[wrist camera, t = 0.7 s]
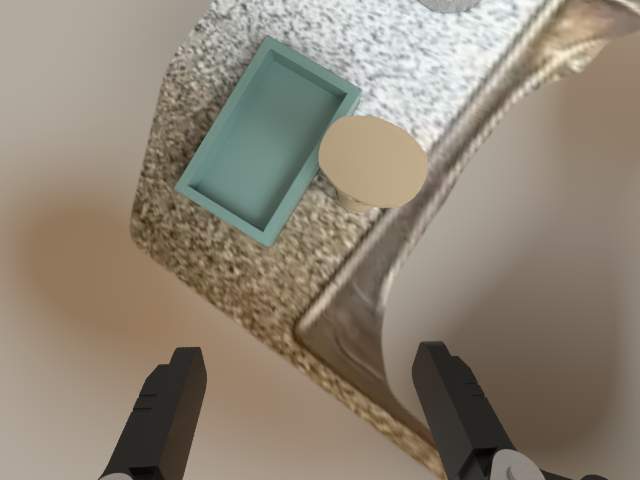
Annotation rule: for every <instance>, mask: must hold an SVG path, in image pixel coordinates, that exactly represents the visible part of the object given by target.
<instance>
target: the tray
mask: <svg viewBox="0 0 640 480" xmlns="http://www.w3.org/2000/svg"><path fill="white" fill-rule="evenodd" d="M361 91H362V90H361V89H360V88H358V87H356V86H355V85H353V84H351V83H349V82H348V81H346V80H344V79H342V78H341V77H339V76H337V75H336V74H334V73H332V72H330V71H329V70H327V69H325V68H323V67H322V66H320V65H318V64H317V63H315V62H313V61H311V60H310V59H308V58H306V57H305V56H303V55H301V54H299V53H298V52H296V51H294V50H292V49H291V48H289V47H287V46H286V45H284V44H282V43H280V42H279V41H277V40H275V39H274V38H272V37H270V36H268V35H267V36H266V37H265V39H264V41H263V42H262V44H261V46H260V47H259V49H258V51H257V52H256V54H255V56H254V57H253V59H252V61H251V62H250V64H249V66H248V67H247V69H246V70H245V72H244V74H243V75H242V77H241V79H240V80H239V82H238V84H237V85H236V87H235V89H234V90H233V92H232V94H231V95H230V97H229V99H228V100H227V102H226V104H225V105H224V107H223V108H222V110H221V112H220V113H219V115H218V117H217V118H216V120H215V122H214V123H213V125H212V127H211V128H210V130H209V132H208V133H207V135H206V137H205V138H204V140H203V142H202V143H201V145H200V146H199V148H198V150H197V151H196V153H195V155H194V156H193V158H192V160H191V161H190V163H189V165H188V166H187V168H186V170H185V171H184V173H183V175H182V176H181V178H180V180H179V181H178V183H177V184H176V186H175V188H174V189H175V190H176V191H178V192H179V193H181V194H183V195H184V196H186V197H187V198H189V199H191V200H192V201H194V202H196V203H197V204H199V205H200V206H202V207H204V208H205V209H207V210H208V211H210V212H212V213H213V214H215V215H217V216H218V217H220V218H221V219H223V220H225V221H226V222H228V223H229V224H231V225H233V226H234V227H236V228H237V229H239V230H241V231H242V232H244V233H246V234H247V235H249V236H250V237H252V238H254V239H255V240H257V241H258V242H260V243H262V244H263V245H265V246H273V244H274V243H275V241H276V239H277V238H278V236H279V234H280V233H281V231H282V230H283V228H284V226H285V225H286V223H287V221H288V220H289V218H290V216H291V215H292V213H293V212H294V210H295V208H296V207H297V205H298V203H299V202H300V200H301V198H302V197H303V195H304V194H305V192H306V190H307V189H308V187H309V185H310V184H311V182H312V180H313V179H314V177H315V175H316V174H317V172H318V171H319V169H320V167H319V149H320V144H321V142H322V139H323V137H324V135H325V134H326V132H327V130H328V129H329V128H330V126H331V125H332V124H333V123H334V122H336V121H337V120H338V119H340V118H341V117H343V116H352V115H353V113H354V112H355V110H356V108H357V107H358V105H359V102H360V97H361Z"/></svg>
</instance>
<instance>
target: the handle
mask: <svg viewBox="0 0 640 480" xmlns="http://www.w3.org/2000/svg"><path fill="white" fill-rule="evenodd" d="M319 167H320V170H321V171H322V173H323V174H324V175H325V177H326V178H327V179H328V181H329V182H330V183H331V184H332V185H333V186H334V188H335V189H336V190H337V195H338V199H339V201H340V203H341V205H342V206H343V207H344V208H345V209H346V211H347V212H349V213H364V212H366V211H369V210H370V209H372V208H373V207H383V208H392V207H400V206H402V205H404V204H406V203H407V202H409V201H410V200H411V199H413V198H414V197H415V195H416V194H417V193H418V192H419V190H420V189H421V187H422V185H423V183H424V181H425V178H426V175H427V170H428V158H427V154H426V153H425V152H424V150H423V149H422V148H421V147H420V145H419V144H418V143H417V142H416V141H415V140H414V138H413V137H412V136H411V135H410V134H409V133H408V132H406V131H405V130H403V129H402V128H400V127H398V126H396V125H394V124H392V123H389V122H387V121H385V120H383V119H380V118H377V117H372V116H343V117H341V118H340V119H338V120H337V121H336V122H334V123H333V124H332V125H331V126H330V128H329V129H328V130H327V132H326V134H325V135H324V137H323V139H322V142H321V144H320V149H319Z"/></svg>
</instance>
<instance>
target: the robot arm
mask: <svg viewBox="0 0 640 480" xmlns="http://www.w3.org/2000/svg"><path fill="white" fill-rule="evenodd" d="M419 1H420V2H421V3H422V4H424V5H425V6H427V7H428V8H430V9H432V10H435V11H437V12H442V13H458V12H462V11H465V10H468V9H470V8H472V7H474V6H475V5H477V4H478V3H479V2H481V1H482V0H419ZM412 378H413V383H414V386H415V389H416V391H417V394H418V397H419V400H420V403H421V405H422V408H423V411H424V414H425V416H426V419H427V422H428V425H429V428H430V430H431V433H432V436H433V439H434V442H435V444H436V447H437V450H438V453H439V455H440V458H441V461H442V464H443V467H444V469H445V472H446V475H447V478H448V480H572V479H569V478H565V477H562V476H559V475H555V474H552V473H549V472H546V471H543V470H541V469H539V468H538V467H537V466H536V465H535V464H534V463H533V462H532V461H531V460H530V459H528V458H527V457H526V456H524V455H523V454H521V453H519V452H518V451H517V450H516V449H515V447H514V446H513V444H512V443H511V441H510V439H509V437H508V436H507V434H506V432H505V430H504V428H503V427H502V425H501V423H500V421H499V419H498V417H497V416H496V414H495V412H494V410H493V409H492V407H491V405H490V403H489V401H488V399H487V398H486V397H485V396H484V392H483V390H482V389H481V387H480V385H478V381H477V380H476V378H475V376H474V374H473V373H472V371H471V369H470V368H469V367H468V366H467V365H466V364H465V363H464V362H463V361H462V360H461V359H460V358H459V357H458V356H451V355H450V353H449V351H448V349H447V347H446V345H445V344H444V343H443V342H442V341H429V342H421V343H420V344H419V348H418V351H417V354H416V357H415V360H414V363H413V366H412ZM206 383H207V373H206V369H205V364H204V360H203V356H202V351H201V348H200V347H181V348H179V347H178V348H176V349H175V351H174V353H173V356H172V358H171V361H170V363H169V364H165V365H164V364H162V365H158V366H157V367H156V368H155V370H154V371H153V372H152V373H151V374H150V375H149V376H148V377H147V379H146V380H145V383H144V385H143V387H142V390H141V392H140V394H139V398H138V399H137V401H136V403H135V405H134V407H133V412H131V414H130V416H129V418H128V421H127V423H126V425H125V428H124V430H123V432H122V434H121V436H120V438H119V441H118V443H117V445H116V447H115V450H114V452H113V454H112V456H111V459H110V461H109V463H108V465H107V467H106V469H105V471H104V472H103V474H102V475H101V477H100V478H99V479H98V480H182V479H183V476H184V472H185V468H186V464H187V460H188V456H189V452H190V448H191V445H192V440H193V437H194V433H195V429H196V425H197V421H198V417H199V414H200V410H201V406H202V402H203V398H204V394H205V390H206ZM581 480H608V479H606V478H603V477H601V476H598V475H586V476H584V477H583V478H582V479H581Z"/></svg>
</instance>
